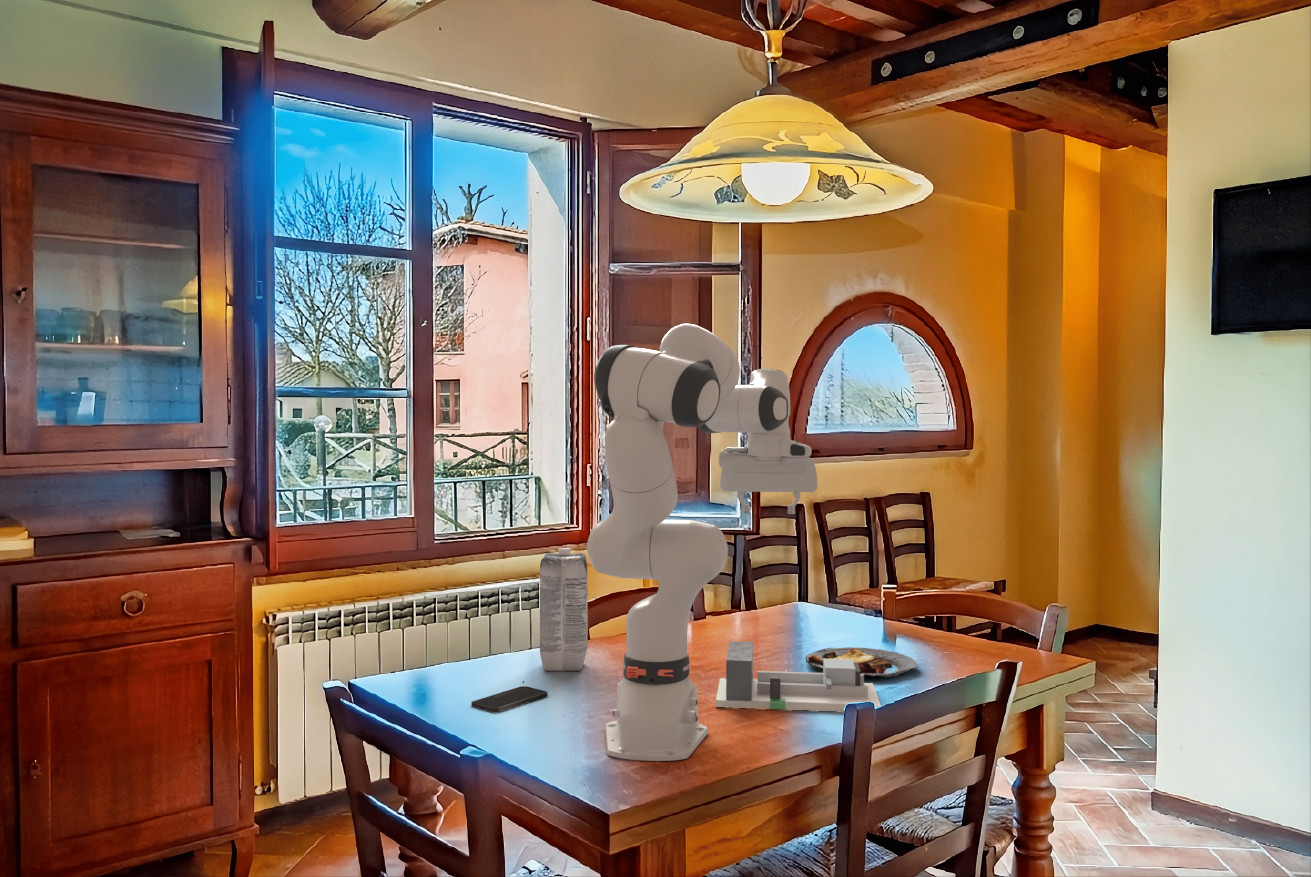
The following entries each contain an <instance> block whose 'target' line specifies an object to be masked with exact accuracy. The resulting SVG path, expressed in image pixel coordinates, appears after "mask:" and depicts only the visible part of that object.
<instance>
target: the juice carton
mask: <svg viewBox="0 0 1311 877" xmlns="http://www.w3.org/2000/svg"><path fill="white" fill-rule="evenodd" d="M571 549H572V548H570V547H569V548H567V547H566V548H564V547H562V548H558V549H557V553H553V552H547V553H545V554H544V556H543V557H542V559H541V560H540V563H539V564H540V565H539V567H540V569H539V655H540V659H541V664H542V668H543V671H545V672H546V671H547V672H561V671H562V672H567V671H568V672H580V671H582V669H583V666H584V662H585V660H586V654H587V651H588V562H587V559H588V558H587V556H586V554H585V553H583V552H578V553H571V552H572V551H571Z"/></svg>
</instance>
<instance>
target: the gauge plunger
mask: <svg viewBox="0 0 1311 877" xmlns="http://www.w3.org/2000/svg"><path fill="white" fill-rule="evenodd" d="M822 673H823V685H826V689H832V685H851V686H860V669H859V666H858V663H855V662H853V660H836V659H823V669H822Z"/></svg>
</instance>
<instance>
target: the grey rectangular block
mask: <svg viewBox="0 0 1311 877" xmlns="http://www.w3.org/2000/svg"><path fill="white" fill-rule="evenodd" d="M725 664H726V665H725V666H726V667H725V673H726V674H725V678H726V700H727V701H746V700H749V701H750V700H752V687H753V679H754V641H739V640H738V641H736V640H735V641H734V640H730V641H729V643H728V648H727V655H726V663H725Z"/></svg>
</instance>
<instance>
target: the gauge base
mask: <svg viewBox="0 0 1311 877" xmlns="http://www.w3.org/2000/svg"><path fill="white" fill-rule="evenodd" d="M770 674H778V675H780V699H776V700H774V698H770ZM718 681H719V682H718V687H717V693H716V697H715V708H716V707H726V708H725V709H730V708H729V707H733V708H732V709H739V708H765V709H764V710H766V709H784V710H783V711H792V710H812V711H811V712H819V711H837V712H836V713H845V712H844V707H845V705H846V704H847V703H852V702H874V703H875V705H876V706H877V707H878V706H881V707H882V705H881V703H880V700H879V696H878V694H877V691H876V688H875V686H874V683H873V682H865V675H863V674H860V686H851V685H832V689H826V685H823V672H806V671H805V672H804V671H802V672H801V671H799V672H798V671H779V670H778V671H776V670H775V671H774V670H771V671H770V670H757V678H756V679H755V678H753V687H752V700H750V701H749V700H746V701H727V700H726V677H725V678H723V677H722V678H721V677H720V678H719V680H718ZM785 709H786V710H785ZM788 709H790V710H788ZM816 710H818V711H816ZM839 711H840V712H839Z"/></svg>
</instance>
